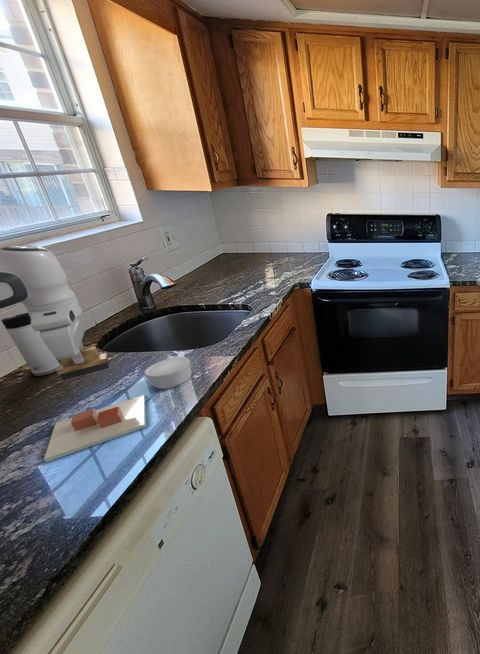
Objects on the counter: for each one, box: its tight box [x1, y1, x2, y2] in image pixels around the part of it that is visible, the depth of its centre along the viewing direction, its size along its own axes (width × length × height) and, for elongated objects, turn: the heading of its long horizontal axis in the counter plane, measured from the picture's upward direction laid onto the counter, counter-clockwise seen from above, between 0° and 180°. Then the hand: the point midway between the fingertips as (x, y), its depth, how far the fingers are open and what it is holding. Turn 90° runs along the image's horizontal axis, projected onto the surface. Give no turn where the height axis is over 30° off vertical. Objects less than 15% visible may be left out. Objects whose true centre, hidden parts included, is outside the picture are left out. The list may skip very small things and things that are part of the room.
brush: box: [55, 345, 110, 381], centre depth 96 cm, size 10×4×6 cm, turn 128°
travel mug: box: [1, 312, 61, 377], centre depth 114 cm, size 6×7×20 cm
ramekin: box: [143, 356, 192, 390], centre depth 109 cm, size 11×11×5 cm
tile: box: [43, 394, 147, 463], centre depth 92 cm, size 18×16×1 cm
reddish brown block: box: [71, 408, 98, 431], centre depth 91 cm, size 4×4×2 cm
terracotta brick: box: [97, 406, 122, 428], centre depth 92 cm, size 4×4×2 cm
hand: (80, 359), depth 95 cm, fingers closed on brush, 2 cm apart
